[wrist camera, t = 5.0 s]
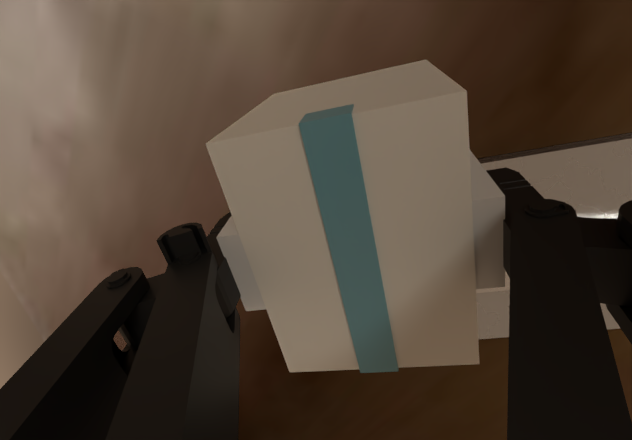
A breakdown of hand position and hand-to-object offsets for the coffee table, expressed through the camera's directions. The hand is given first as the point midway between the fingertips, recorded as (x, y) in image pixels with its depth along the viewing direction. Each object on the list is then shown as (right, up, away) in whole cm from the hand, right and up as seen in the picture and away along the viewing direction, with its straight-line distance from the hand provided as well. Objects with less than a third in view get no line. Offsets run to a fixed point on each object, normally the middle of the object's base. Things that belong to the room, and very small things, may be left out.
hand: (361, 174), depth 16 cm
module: (0, 0, 0) cm, 0 cm away
